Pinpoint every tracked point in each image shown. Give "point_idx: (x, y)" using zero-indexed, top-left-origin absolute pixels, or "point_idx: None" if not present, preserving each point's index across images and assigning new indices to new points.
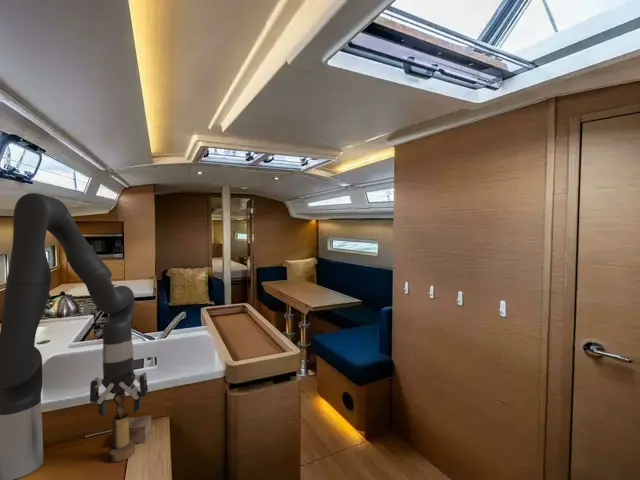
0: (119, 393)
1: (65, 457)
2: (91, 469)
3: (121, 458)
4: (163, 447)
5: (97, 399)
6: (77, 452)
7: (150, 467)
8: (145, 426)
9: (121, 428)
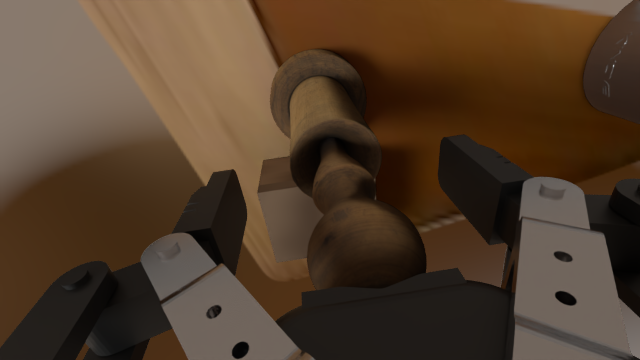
0: (370, 286)
1: (515, 104)
2: (394, 13)
3: (297, 55)
4: (172, 125)
5: (592, 213)
6: (483, 128)
7: None
8: (259, 197)
9: (309, 107)
